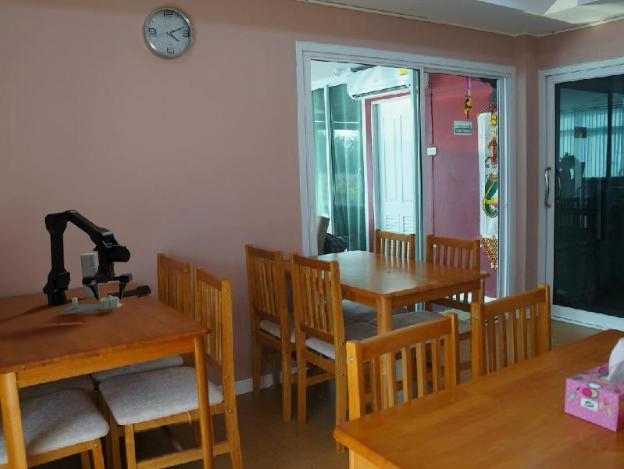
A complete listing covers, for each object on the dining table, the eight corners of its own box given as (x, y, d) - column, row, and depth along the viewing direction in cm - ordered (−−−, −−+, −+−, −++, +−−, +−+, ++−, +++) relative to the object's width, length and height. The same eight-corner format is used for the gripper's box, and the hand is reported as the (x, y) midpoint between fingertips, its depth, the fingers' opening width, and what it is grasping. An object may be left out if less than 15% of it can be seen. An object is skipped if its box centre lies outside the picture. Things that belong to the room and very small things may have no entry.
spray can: (96, 299, 251) (92, 254, 248) (82, 300, 251) (77, 255, 248) (102, 296, 257) (97, 252, 255) (87, 296, 257) (83, 253, 255)
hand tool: (110, 302, 244) (109, 292, 243) (107, 301, 247) (106, 290, 247) (153, 295, 255) (152, 285, 254) (150, 294, 258) (149, 284, 257)
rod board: (58, 316, 223) (57, 301, 222) (72, 307, 237) (71, 293, 236) (116, 313, 223) (114, 298, 223) (126, 304, 237) (125, 290, 237)
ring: (98, 308, 227) (97, 300, 226) (104, 304, 233) (103, 297, 233) (115, 307, 227) (114, 300, 226) (120, 303, 233) (120, 296, 233)
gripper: (74, 266, 220) (78, 306, 222) (123, 264, 220) (126, 303, 222) (85, 261, 231) (89, 299, 233) (131, 259, 231) (134, 297, 233)
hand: (109, 300), depth 230 cm, fingers open, 9 cm apart
